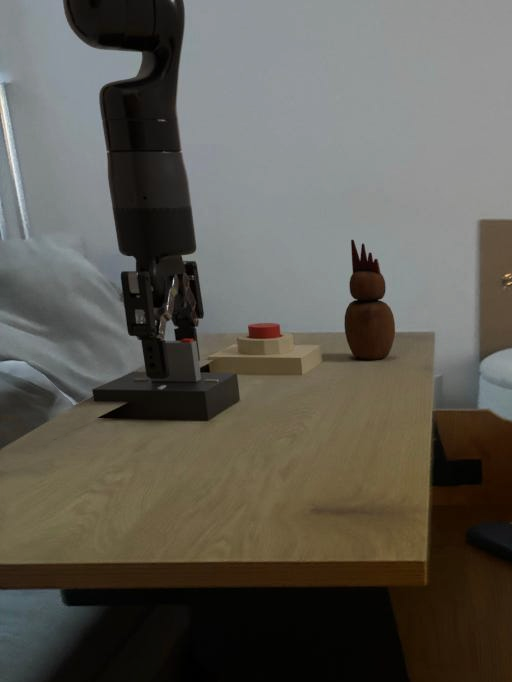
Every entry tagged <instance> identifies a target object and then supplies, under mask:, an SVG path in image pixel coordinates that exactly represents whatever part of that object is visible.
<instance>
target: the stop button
mask: <svg viewBox="0 0 512 682" xmlns="http://www.w3.org/2000/svg"><path fill="white" fill-rule="evenodd" d="M247 330H248V334H249V338H252V339H270V338H278V337H281V333H282V332H281V325H280V323H277V322H276V323H274V322H259V323H257V322H256V323H251V324H248V325H247ZM280 332H281V333H280Z"/></svg>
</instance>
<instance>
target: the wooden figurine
mask: <svg viewBox="0 0 512 682" xmlns="http://www.w3.org/2000/svg"><path fill="white" fill-rule="evenodd" d="M350 248H351V249H350V251H351V266H352V267H351V268H352V274H351V275H350V278H349V282H348V283H349V293H350V296H351V297H352V298H353V299H354V300H353V301H351V302H349V303H348V306H347V307H346V309H345V313H344V324H343V325H344V333H345V339H346V342H347V344H348V347H349V350H350V351H351V354H352V355H353V356H354V357H355V358H358V359H359V360H362V361H363V360H364V361H378V360H382V359H385V358H387V357H388V356H389V355H390V352H391V350H392V347H393V344H394V340H395V334H396V323H395V317H394V313H393V311H392V308H391V306H389V305H388V303H386V301H385V302H384V301H383V300H382V299H383V298H384V297H385V295H386V290H387V289H386V288H387V286H386V281H385V278H384V275H383V274H382V273H381V268H380V264H379V260H378V258H374V259H373V253H372V252H368V255H367V251H366V246H365V243H361V248H360V256H359V252H358V250H357V249H358V248H357V246H356V243H355V240H354V239H351V240H350Z"/></svg>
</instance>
